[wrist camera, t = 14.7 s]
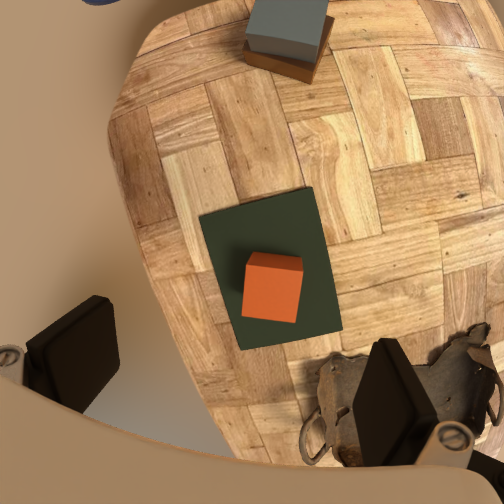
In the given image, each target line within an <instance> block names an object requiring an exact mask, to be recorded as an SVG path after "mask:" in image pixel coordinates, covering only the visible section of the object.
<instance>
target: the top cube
mask: <svg viewBox="0 0 504 504" xmlns="http://www.w3.org/2000/svg"><path fill="white" fill-rule="evenodd" d="M302 278H303V266H302V258H301V257H294V256H286V255H278V254H270V253H262V252H253V253H252V255H251V257H250V258H249V260H248V262H247V264H246V272H245V282H244V293H243V304H242V314H241V315H242V316H246V317H253V318H260V319H268V320H275V321H283V322H292V323H295V321H296V315H297V309H298V303H299V297H300V291H301V284H302Z"/></svg>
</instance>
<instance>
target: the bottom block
mask: <svg viewBox="0 0 504 504" xmlns="http://www.w3.org/2000/svg"><path fill="white" fill-rule="evenodd" d="M334 20H335V18H333V17H330V16H327V15H326V17H325V22H324V26H323V31H322V35H321V40H320V44H319V49H318V53H317V57H316V62H315V63H311V62H306V61H302V60H297V59H293V58H288V57H283V56H278V55H272V54H267V53H261V52H254V51H251V49H250V46H249V43H248V40H246V42H245V44H244V46H243V49H242V52H243V54H244V57H245V59H246V62H247V64H248V65H251V66H254V67H258V68H261V69H265V70H268V71H272V72H275V73H278V74H281V75H284V76H287V77H290V78H293V79H296V80H299V81H302V82H305V83H308V84H311V83H312V81H313V78H314V76H315V73H316V71H317V68H318V65H319V63H320V60H321V58H322V55H323V53H324V50H325V48H326V45H327V42H328V40H329V37H330V35H331V31H332V27H333V23H334Z"/></svg>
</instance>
